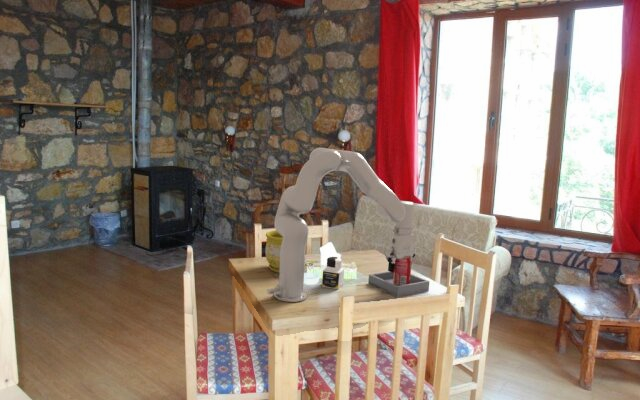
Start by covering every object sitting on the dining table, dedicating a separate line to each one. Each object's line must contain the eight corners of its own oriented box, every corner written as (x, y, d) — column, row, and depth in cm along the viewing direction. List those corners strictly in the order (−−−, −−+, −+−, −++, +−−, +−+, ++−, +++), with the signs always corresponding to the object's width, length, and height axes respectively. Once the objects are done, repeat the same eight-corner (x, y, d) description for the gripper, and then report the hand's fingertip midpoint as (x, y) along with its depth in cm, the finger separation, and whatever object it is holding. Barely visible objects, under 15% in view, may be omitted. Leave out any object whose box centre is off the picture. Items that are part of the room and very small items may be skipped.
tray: (396, 296, 206) (397, 287, 205) (368, 283, 221) (368, 274, 220) (428, 290, 216) (429, 281, 216) (399, 278, 231) (399, 269, 230)
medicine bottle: (321, 286, 213) (323, 258, 211) (327, 282, 219) (329, 254, 217) (338, 289, 210) (340, 261, 208) (343, 284, 217) (345, 257, 215)
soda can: (412, 287, 216) (415, 257, 213) (396, 287, 214) (398, 257, 212) (405, 281, 222) (408, 252, 220) (390, 281, 221) (392, 252, 219)
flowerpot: (297, 277, 223) (299, 240, 220) (258, 272, 227) (259, 236, 225) (308, 266, 240) (310, 232, 237) (272, 261, 244) (274, 228, 242)
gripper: (393, 234, 207) (390, 275, 209) (424, 231, 216) (420, 270, 219) (381, 230, 213) (378, 270, 215) (411, 227, 222) (408, 265, 225)
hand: (399, 270), depth 217 cm, fingers open, 9 cm apart
